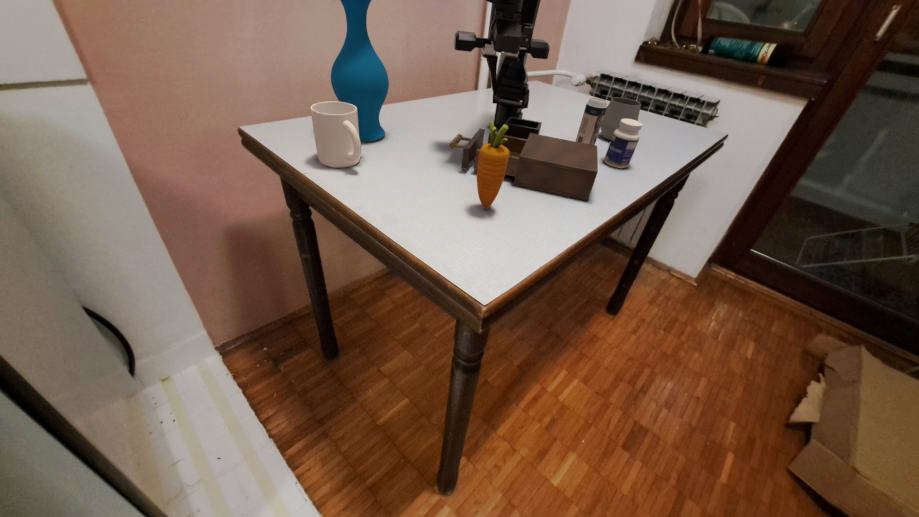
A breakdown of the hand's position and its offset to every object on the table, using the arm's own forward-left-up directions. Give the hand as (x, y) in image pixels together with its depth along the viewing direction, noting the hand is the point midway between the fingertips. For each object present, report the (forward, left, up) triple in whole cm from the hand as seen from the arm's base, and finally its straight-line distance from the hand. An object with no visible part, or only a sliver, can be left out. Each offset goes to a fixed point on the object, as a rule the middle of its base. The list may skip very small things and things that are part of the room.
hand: (494, 90), depth 78 cm
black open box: (+5, +7, -13) cm, 16 cm away
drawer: (+5, -7, -12) cm, 15 cm away
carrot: (+13, -25, -13) cm, 31 cm away
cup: (+22, +34, -13) cm, 43 cm away
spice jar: (+18, +18, -13) cm, 29 cm away
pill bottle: (+27, +15, -13) cm, 34 cm away
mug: (-17, -28, -13) cm, 35 cm away
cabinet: (+18, -4, -13) cm, 23 cm away
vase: (-26, -14, -13) cm, 32 cm away
